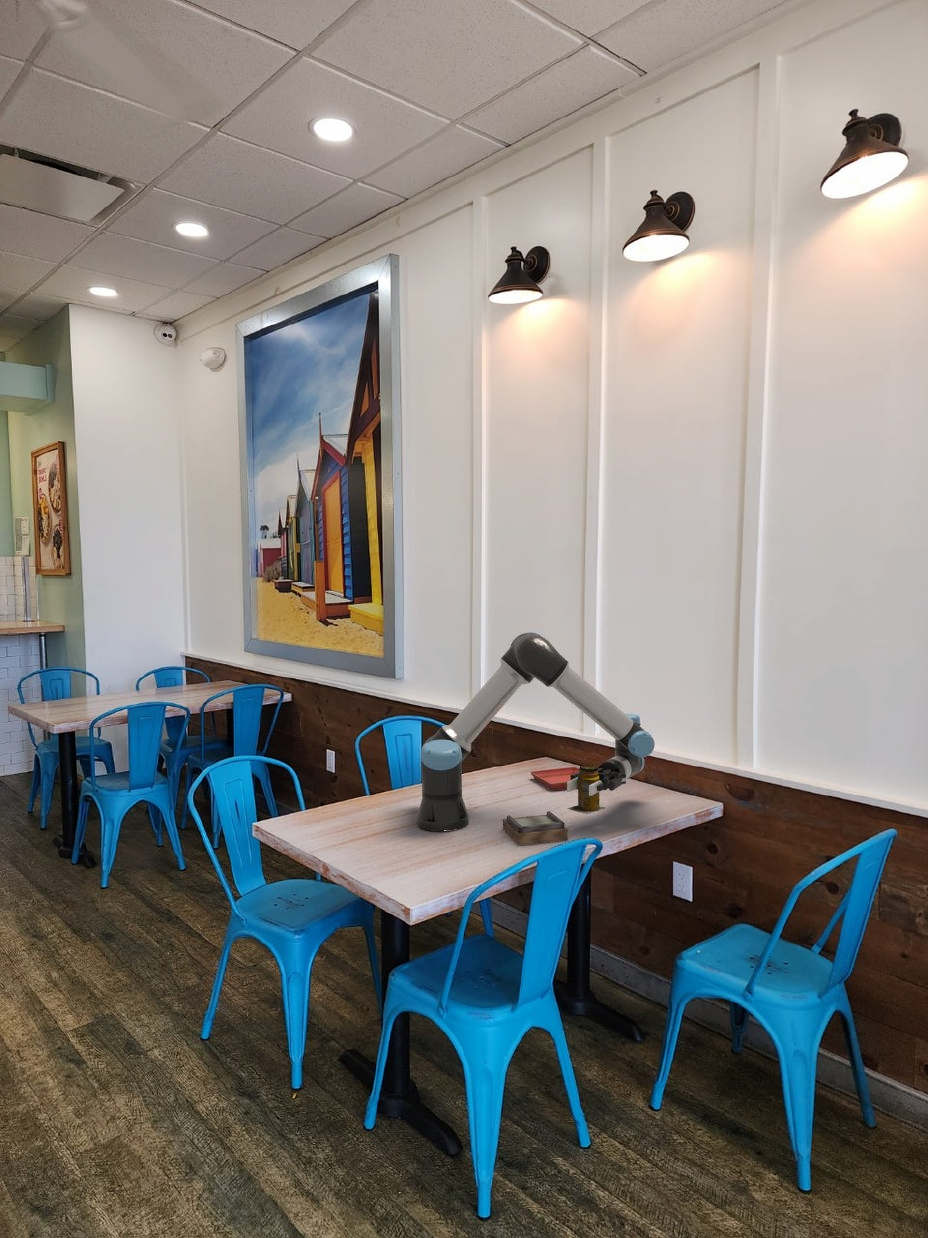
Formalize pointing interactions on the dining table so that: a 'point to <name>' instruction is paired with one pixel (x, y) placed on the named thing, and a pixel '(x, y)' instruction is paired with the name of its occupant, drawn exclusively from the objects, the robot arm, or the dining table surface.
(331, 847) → the dining table surface
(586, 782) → the condiment
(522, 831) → the dock
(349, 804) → the dining table surface
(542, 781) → the plant saucer
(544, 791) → the dining table surface
